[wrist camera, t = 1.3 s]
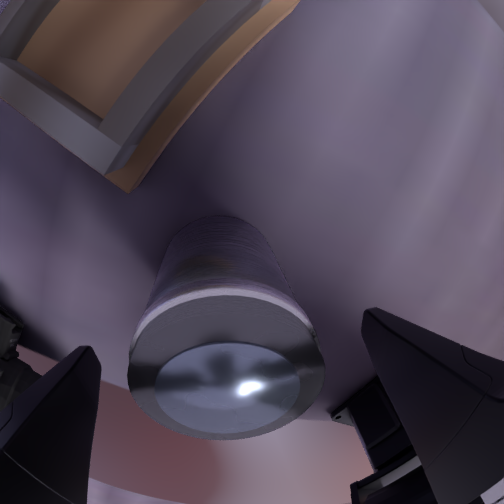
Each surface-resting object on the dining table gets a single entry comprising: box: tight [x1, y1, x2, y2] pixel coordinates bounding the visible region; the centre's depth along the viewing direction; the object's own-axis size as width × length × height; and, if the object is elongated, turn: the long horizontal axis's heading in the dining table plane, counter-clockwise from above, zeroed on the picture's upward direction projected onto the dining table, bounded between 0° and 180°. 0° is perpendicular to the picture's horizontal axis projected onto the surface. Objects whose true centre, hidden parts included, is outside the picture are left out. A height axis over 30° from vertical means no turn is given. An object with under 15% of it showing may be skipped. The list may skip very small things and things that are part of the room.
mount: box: [0, 0, 300, 194], centre depth 6 cm, size 10×10×4 cm
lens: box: [127, 216, 325, 440], centre depth 10 cm, size 5×5×7 cm
